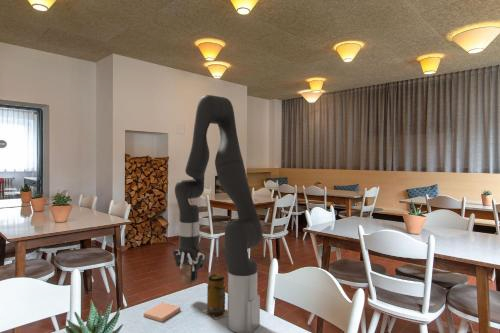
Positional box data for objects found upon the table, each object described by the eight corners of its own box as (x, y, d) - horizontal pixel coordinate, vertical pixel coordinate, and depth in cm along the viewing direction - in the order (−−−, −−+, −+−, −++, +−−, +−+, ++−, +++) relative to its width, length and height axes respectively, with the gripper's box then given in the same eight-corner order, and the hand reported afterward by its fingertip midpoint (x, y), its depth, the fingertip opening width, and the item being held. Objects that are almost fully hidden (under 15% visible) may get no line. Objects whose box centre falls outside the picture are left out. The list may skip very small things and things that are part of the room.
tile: (180, 306, 111) (162, 318, 103) (180, 311, 111) (162, 323, 103) (162, 302, 115) (143, 313, 107) (162, 306, 115) (143, 317, 107)
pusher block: (196, 281, 121) (196, 262, 121) (190, 284, 118) (190, 265, 118) (188, 279, 123) (188, 260, 123) (181, 282, 120) (181, 264, 119)
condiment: (219, 304, 116) (219, 271, 115) (233, 313, 109) (233, 278, 109) (201, 310, 111) (201, 276, 111) (215, 320, 104) (215, 283, 104)
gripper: (210, 233, 120) (210, 279, 120) (180, 229, 126) (180, 272, 127) (198, 237, 113) (198, 286, 114) (167, 233, 120) (167, 279, 120)
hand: (189, 278), depth 120 cm, fingers closed on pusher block, 4 cm apart
